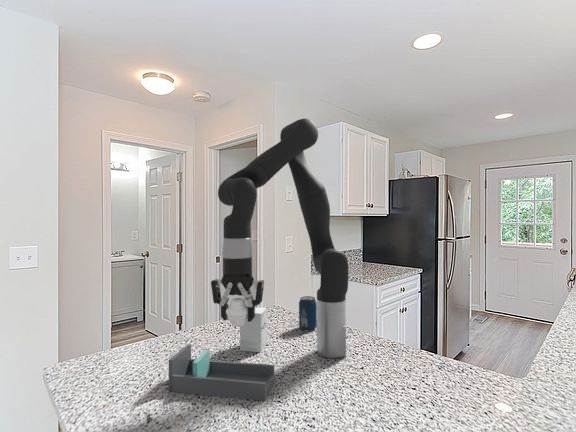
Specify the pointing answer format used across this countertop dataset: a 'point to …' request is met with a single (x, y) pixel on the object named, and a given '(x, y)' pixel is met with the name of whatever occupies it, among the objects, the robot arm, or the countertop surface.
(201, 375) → the teal flat slab
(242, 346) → the supplement box
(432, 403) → the countertop surface
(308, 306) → the soda can
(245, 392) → the pusher lane
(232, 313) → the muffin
